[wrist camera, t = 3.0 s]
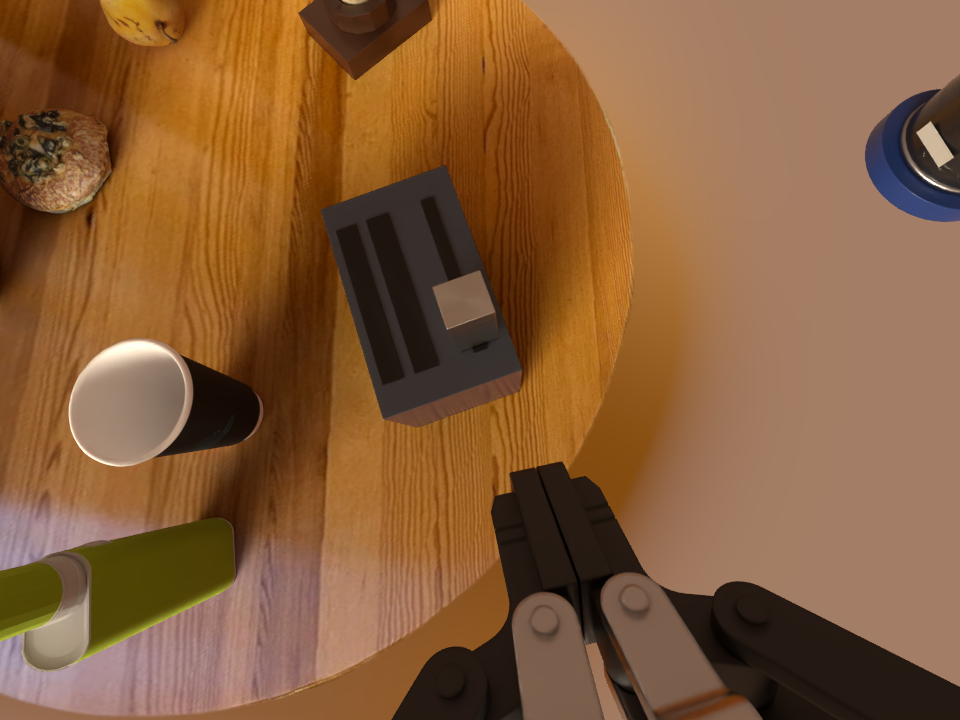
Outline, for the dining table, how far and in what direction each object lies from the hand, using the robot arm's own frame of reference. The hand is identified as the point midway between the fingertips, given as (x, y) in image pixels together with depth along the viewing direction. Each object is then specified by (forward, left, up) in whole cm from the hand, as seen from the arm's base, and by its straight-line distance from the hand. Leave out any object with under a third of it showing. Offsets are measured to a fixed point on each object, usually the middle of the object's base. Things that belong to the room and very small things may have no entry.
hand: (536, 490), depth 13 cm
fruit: (-2, -57, -24) cm, 62 cm away
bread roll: (+14, -51, -24) cm, 58 cm away
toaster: (-3, -13, -24) cm, 27 cm away
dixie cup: (+15, -19, -24) cm, 34 cm away
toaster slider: (-3, -8, -13) cm, 16 cm away
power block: (-18, -42, -24) cm, 51 cm away
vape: (+23, -11, -24) cm, 35 cm away
